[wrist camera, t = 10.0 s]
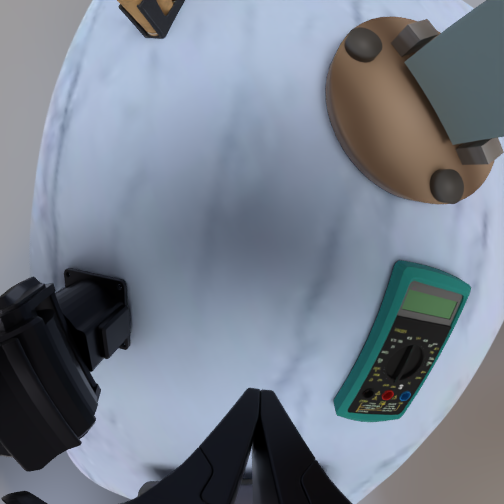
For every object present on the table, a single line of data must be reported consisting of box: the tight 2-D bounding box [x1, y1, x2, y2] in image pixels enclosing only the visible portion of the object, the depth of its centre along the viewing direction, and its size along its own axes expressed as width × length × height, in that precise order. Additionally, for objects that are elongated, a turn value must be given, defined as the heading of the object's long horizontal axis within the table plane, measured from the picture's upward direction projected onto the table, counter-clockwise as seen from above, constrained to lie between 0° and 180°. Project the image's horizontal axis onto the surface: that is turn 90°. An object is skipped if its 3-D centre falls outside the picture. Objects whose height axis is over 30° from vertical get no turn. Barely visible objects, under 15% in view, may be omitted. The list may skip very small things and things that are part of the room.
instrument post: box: [404, 0, 504, 145], centre depth 7 cm, size 4×6×11 cm, turn 33°
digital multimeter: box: [334, 260, 471, 422], centre depth 20 cm, size 7×15×3 cm, turn 167°
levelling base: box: [325, 17, 504, 204], centre depth 14 cm, size 14×14×6 cm
